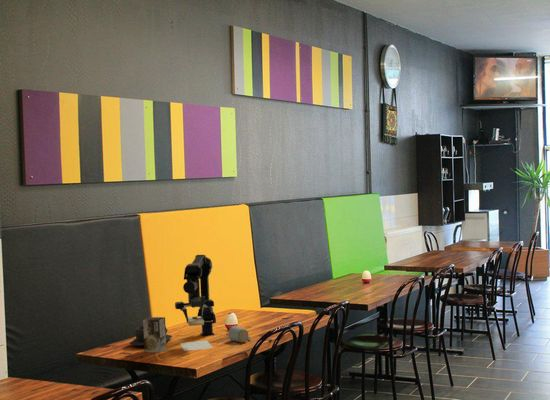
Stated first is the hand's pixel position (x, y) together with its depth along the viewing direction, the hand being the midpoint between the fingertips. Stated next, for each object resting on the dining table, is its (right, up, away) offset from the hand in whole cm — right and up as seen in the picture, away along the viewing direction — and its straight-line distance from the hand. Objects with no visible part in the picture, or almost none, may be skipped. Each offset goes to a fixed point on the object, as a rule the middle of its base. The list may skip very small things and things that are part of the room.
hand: (195, 321), depth 364 cm
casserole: (-23, -13, +11) cm, 29 cm away
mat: (0, -12, 0) cm, 12 cm away
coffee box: (-18, -13, -7) cm, 24 cm away
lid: (0, -1, 0) cm, 1 cm away
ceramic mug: (+22, -12, +9) cm, 26 cm away
